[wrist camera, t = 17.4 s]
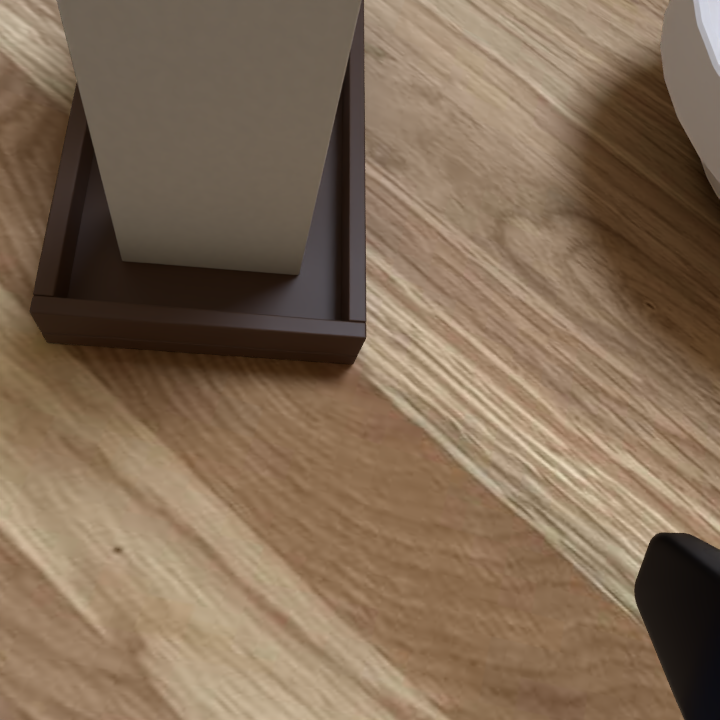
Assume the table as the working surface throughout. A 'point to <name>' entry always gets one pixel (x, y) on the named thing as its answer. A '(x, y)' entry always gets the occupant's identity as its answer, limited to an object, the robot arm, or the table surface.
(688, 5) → the bowl
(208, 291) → the book tray
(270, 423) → the table surface
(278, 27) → the white book
